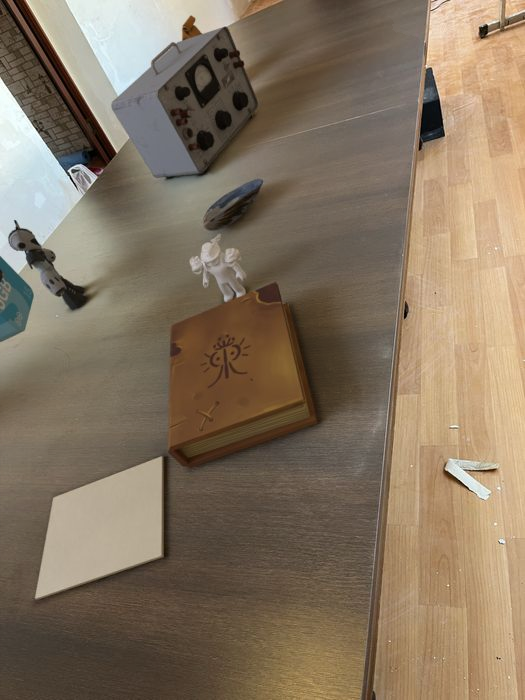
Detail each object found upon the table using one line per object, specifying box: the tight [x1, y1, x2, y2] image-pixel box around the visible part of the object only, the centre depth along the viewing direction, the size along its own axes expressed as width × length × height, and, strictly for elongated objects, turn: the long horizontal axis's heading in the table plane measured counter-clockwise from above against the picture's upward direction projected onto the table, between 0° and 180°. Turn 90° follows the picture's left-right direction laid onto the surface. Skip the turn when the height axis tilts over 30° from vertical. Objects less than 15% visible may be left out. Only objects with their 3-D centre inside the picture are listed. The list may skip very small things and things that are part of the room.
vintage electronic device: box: [110, 26, 259, 180], centre depth 124 cm, size 32×18×25 cm, turn 150°
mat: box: [34, 455, 165, 601], centre depth 64 cm, size 18×14×1 cm
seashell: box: [201, 178, 264, 232], centre depth 101 cm, size 15×12×5 cm
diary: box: [167, 281, 319, 468], centre depth 69 cm, size 23×19×6 cm
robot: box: [7, 219, 89, 311], centre depth 101 cm, size 20×5×20 cm, turn 28°
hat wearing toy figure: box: [189, 233, 247, 303], centre depth 82 cm, size 9×4×12 cm, turn 80°
